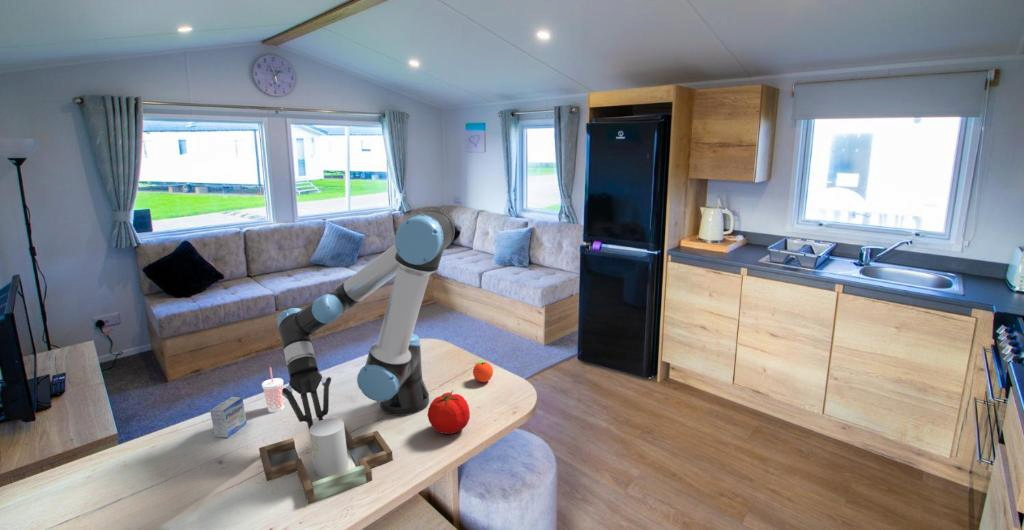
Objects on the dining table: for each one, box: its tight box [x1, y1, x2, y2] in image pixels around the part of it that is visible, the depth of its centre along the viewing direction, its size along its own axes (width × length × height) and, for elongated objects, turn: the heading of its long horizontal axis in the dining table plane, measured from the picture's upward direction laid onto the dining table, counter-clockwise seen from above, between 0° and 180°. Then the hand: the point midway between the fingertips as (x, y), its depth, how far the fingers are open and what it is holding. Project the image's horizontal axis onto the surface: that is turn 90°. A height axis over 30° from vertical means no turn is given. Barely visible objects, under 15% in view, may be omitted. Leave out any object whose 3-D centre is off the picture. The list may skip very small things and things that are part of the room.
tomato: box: [427, 389, 471, 435], centre depth 145 cm, size 12×12×11 cm
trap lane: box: [258, 424, 394, 504], centre depth 132 cm, size 29×26×4 cm
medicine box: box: [209, 396, 247, 438], centre depth 148 cm, size 8×4×9 cm, turn 168°
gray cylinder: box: [308, 417, 349, 480], centre depth 128 cm, size 8×8×12 cm
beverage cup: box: [261, 366, 285, 413], centre depth 159 cm, size 6×6×14 cm
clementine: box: [472, 360, 494, 383], centre depth 175 cm, size 8×7×7 cm
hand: (320, 443), depth 132 cm, fingers closed
